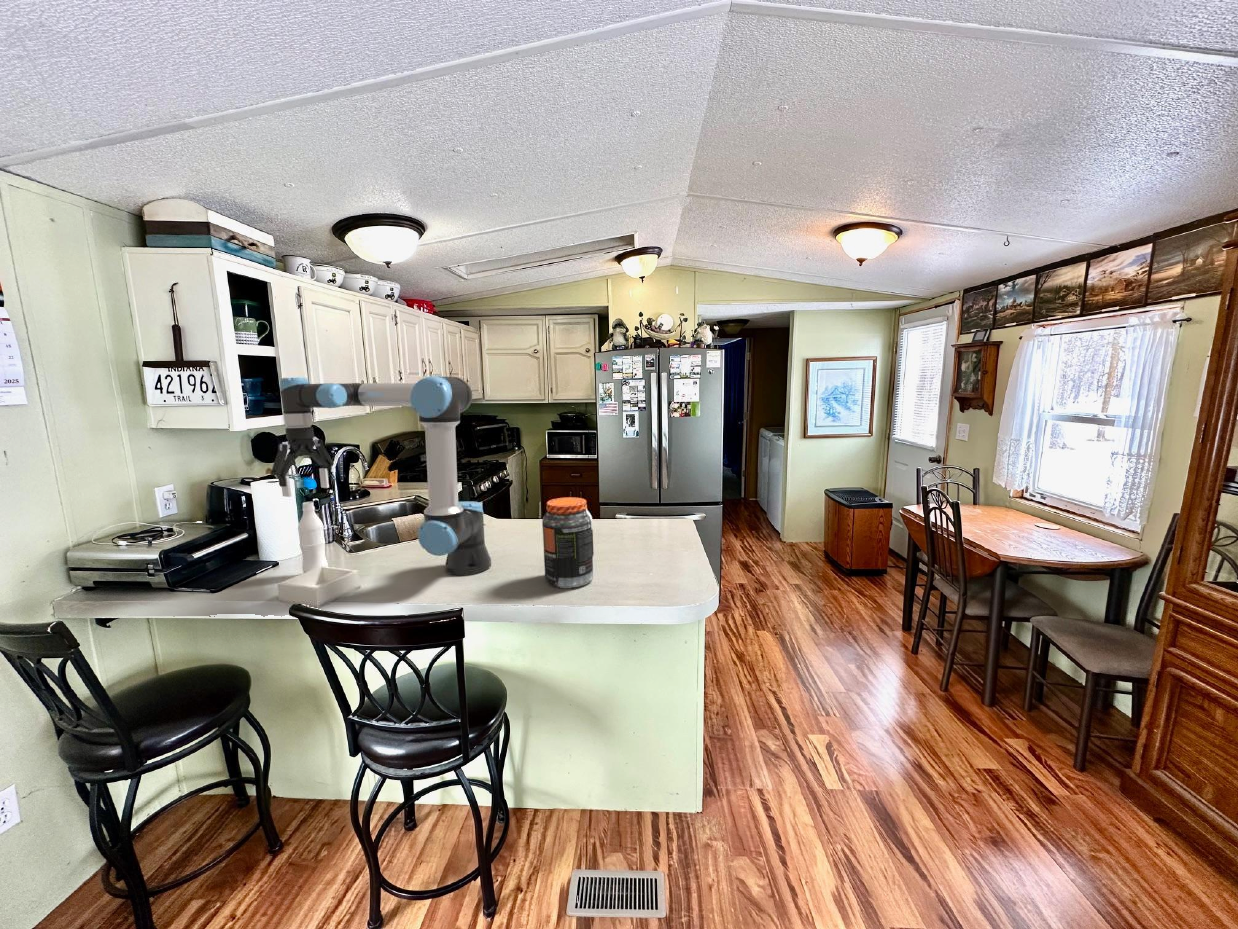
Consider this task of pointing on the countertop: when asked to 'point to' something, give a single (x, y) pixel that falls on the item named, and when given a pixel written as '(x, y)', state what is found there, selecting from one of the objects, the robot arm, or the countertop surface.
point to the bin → (319, 586)
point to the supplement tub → (568, 543)
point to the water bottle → (311, 539)
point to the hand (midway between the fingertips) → (306, 491)
